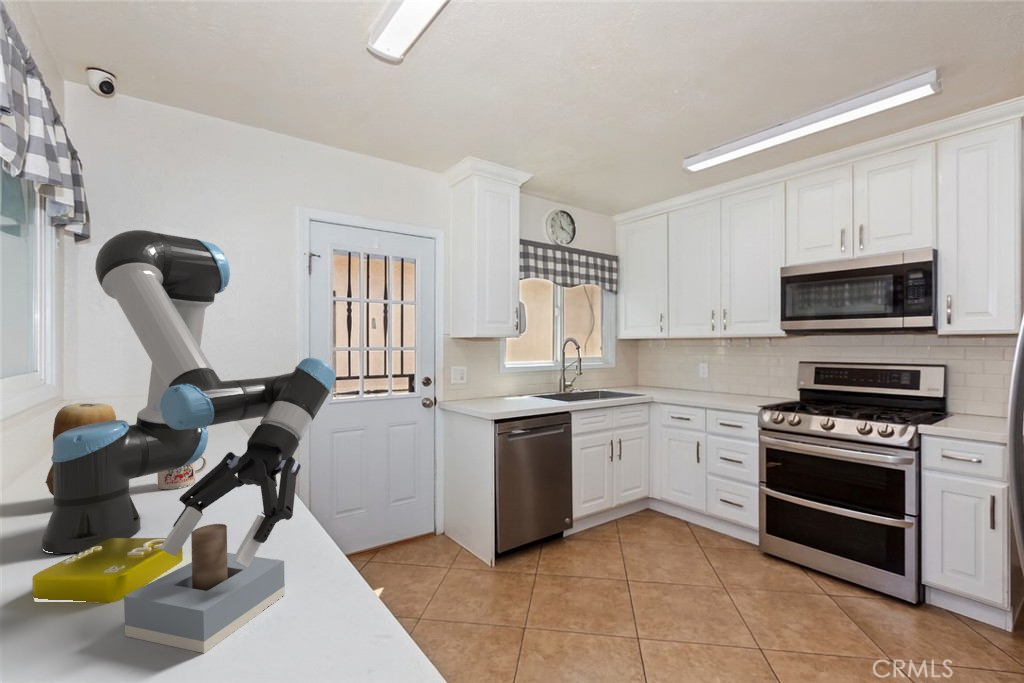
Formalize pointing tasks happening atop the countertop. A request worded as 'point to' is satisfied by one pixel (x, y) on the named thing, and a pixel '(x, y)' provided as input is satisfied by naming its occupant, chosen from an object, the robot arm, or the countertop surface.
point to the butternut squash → (78, 423)
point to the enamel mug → (179, 476)
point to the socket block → (202, 604)
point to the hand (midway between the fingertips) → (202, 558)
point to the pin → (209, 556)
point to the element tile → (105, 571)
